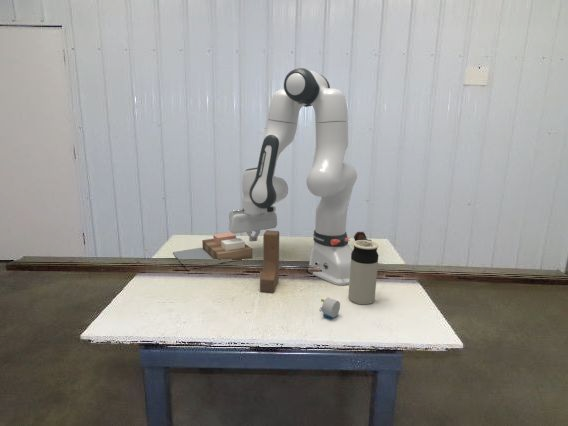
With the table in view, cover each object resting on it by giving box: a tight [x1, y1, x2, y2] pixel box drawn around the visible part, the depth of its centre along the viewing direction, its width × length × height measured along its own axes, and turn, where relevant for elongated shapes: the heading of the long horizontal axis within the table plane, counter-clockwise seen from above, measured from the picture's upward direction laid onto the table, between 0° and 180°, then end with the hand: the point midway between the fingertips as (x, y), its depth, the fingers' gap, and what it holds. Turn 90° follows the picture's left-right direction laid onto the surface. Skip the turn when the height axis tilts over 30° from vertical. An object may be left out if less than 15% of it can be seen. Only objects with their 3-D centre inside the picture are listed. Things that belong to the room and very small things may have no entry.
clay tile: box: [212, 231, 237, 244], centre depth 153 cm, size 5×8×2 cm, turn 120°
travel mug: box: [348, 239, 379, 305], centre depth 112 cm, size 8×8×18 cm
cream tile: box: [221, 237, 246, 251], centre depth 146 cm, size 5×8×2 cm, turn 120°
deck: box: [201, 237, 253, 261], centre depth 150 cm, size 19×14×4 cm
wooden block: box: [259, 229, 280, 293], centre depth 119 cm, size 9×4×18 cm, turn 170°
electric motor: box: [319, 297, 341, 320], centre depth 103 cm, size 7×5×5 cm
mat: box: [172, 247, 213, 260], centre depth 144 cm, size 20×12×1 cm, turn 30°
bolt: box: [353, 231, 373, 241], centre depth 161 cm, size 6×5×15 cm
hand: (253, 240), depth 150 cm, fingers closed
